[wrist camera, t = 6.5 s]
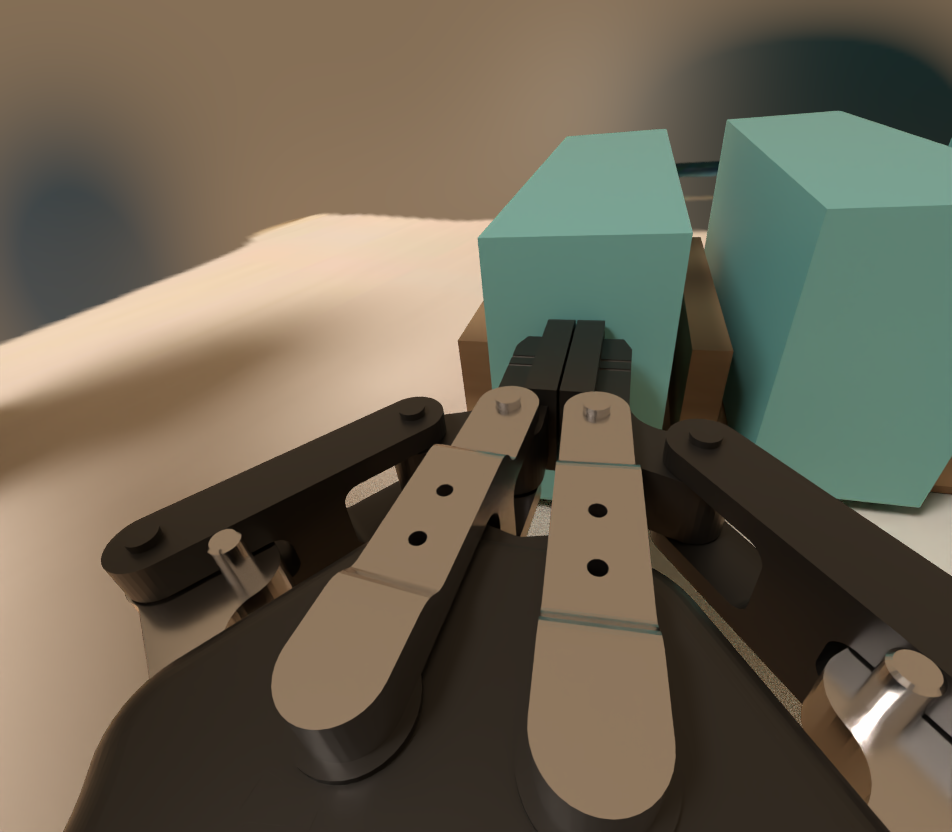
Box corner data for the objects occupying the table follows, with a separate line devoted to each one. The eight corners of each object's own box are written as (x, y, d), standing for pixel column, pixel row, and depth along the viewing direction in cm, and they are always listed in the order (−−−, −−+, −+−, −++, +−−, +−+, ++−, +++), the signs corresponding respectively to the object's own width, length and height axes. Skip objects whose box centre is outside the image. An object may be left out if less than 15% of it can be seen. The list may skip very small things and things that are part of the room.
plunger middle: (919, 507, 15) (1110, 199, 10) (741, 488, 16) (827, 208, 11) (788, 287, 29) (839, 110, 24) (697, 287, 30) (726, 119, 25)
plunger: (648, 512, 16) (692, 233, 11) (502, 493, 17) (477, 237, 12) (647, 297, 30) (666, 128, 25) (565, 296, 31) (566, 136, 26)
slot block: (1315, 530, 14) (1517, 381, 11) (472, 445, 21) (457, 340, 18) (1047, 337, 23) (1118, 229, 20) (525, 323, 30) (521, 240, 27)
